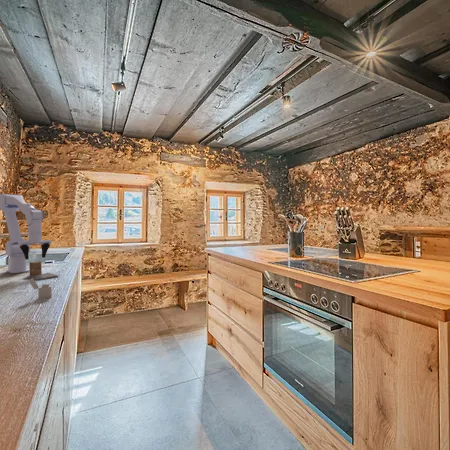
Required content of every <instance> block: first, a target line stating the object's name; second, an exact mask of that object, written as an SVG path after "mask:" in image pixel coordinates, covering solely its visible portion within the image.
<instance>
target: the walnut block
mask: <svg viewBox="0 0 450 450" xmlns="http://www.w3.org/2000/svg"><path fill="white" fill-rule="evenodd" d="M28 266H29V270H30V271H29V276H33V275H39V274H43V272H42V261H30V262H29V265H28Z"/></svg>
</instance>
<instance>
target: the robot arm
mask: <svg viewBox="0 0 450 450" xmlns="http://www.w3.org/2000/svg"><path fill="white" fill-rule="evenodd" d="M0 210H1V211H2V212H3V213H4V218H5V222H6V227H7V229H8V231H7V232H8V234H9V240H8V241H7V242H6V243H5V244H4V245H5V249H4V250H5V254H6V255H7V256H8V259H7V260H8V261H7V264H8V265H7V266H8V270H7V269H6V272H8V273H9V274H10V273H11V274H19V273H26V272H30V269H27V261H28V260H29V258H30V257H29V254H30V252H31V246H35V245H36V246H38V245H40V247H41V258H46V255H47V251H48V250H49V248H50V246H51V244H52V240H50V239H48V240H47V239H46V240H43V238H42V237H43V235H42V234H43V231H42V230H43V228H42V221H44V218H45V213H44V211H43V210H42V209H37V208H35V206H33V205H32V203H30V202H29V203H28V202H26V201H25V200H24V196H23V195H21V194H7V193H0ZM18 211H20V212H21V213H22V214H24V216H25V219H26V224H27V227H28V228H27V229H28V231H27V232H28V233H27V234H28V237H27V238H28V239H25V238H23V237H22V234H21V233H22V232H21V229H20V225H19V221H18V218H17V214H16V213H17V212H18Z"/></svg>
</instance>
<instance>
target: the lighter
mask: <svg viewBox="0 0 450 450" xmlns="http://www.w3.org/2000/svg"><path fill="white" fill-rule="evenodd" d="M28 283H29V284H30V285H31V286H32V289H33V290H34V291H35V290H37V289H38V292H37V293H38V300H41V299H42V300H43V298H44V299H49V298H50V299H51V298H52V297H53V296H52V295H53V293H52V285H50V284H49V283H43V284H41V286H39V285H38V284H37V281H35V280H34V279H33V278H32V279H28Z"/></svg>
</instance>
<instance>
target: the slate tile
mask: <svg viewBox="0 0 450 450" xmlns="http://www.w3.org/2000/svg"><path fill="white" fill-rule="evenodd" d="M58 277H59V275H58V274H54V273H51V272H47V273H42V274H39V275H33V276H30V275H28V276H26V278H27V279H28V280H30V279H32V278H33V279H34V280H35V282H37V281H42V280H48V279H54V278H58Z"/></svg>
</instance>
